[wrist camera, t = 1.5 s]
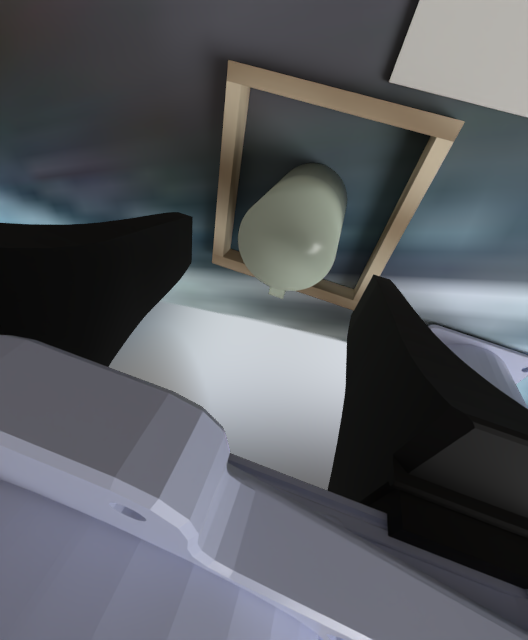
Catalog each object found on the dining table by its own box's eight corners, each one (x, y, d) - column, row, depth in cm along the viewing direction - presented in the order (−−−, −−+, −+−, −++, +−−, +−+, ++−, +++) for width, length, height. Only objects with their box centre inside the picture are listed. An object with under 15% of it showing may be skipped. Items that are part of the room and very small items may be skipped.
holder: (359, 301, 22) (359, 312, 20) (220, 254, 23) (212, 262, 21) (457, 119, 14) (464, 121, 13) (239, 62, 15) (228, 59, 14)
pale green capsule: (323, 266, 21) (307, 326, 15) (265, 247, 21) (229, 299, 16) (359, 175, 17) (353, 213, 11) (285, 153, 17) (245, 180, 12)
